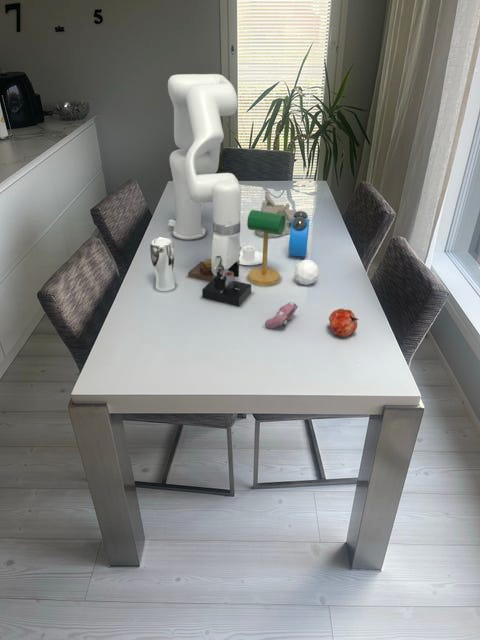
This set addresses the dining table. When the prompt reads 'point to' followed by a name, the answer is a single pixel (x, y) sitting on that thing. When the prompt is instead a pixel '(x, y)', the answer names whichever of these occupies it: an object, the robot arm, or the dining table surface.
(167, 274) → the beer glass
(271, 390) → the dining table surface
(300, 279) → the geometric ball
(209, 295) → the dimmer panel
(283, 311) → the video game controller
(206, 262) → the button
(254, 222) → the desk lamp
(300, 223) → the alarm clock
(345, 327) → the pomegranate
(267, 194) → the ceramic cottage
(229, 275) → the dimmer knob
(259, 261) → the candle holder
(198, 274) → the switch block
